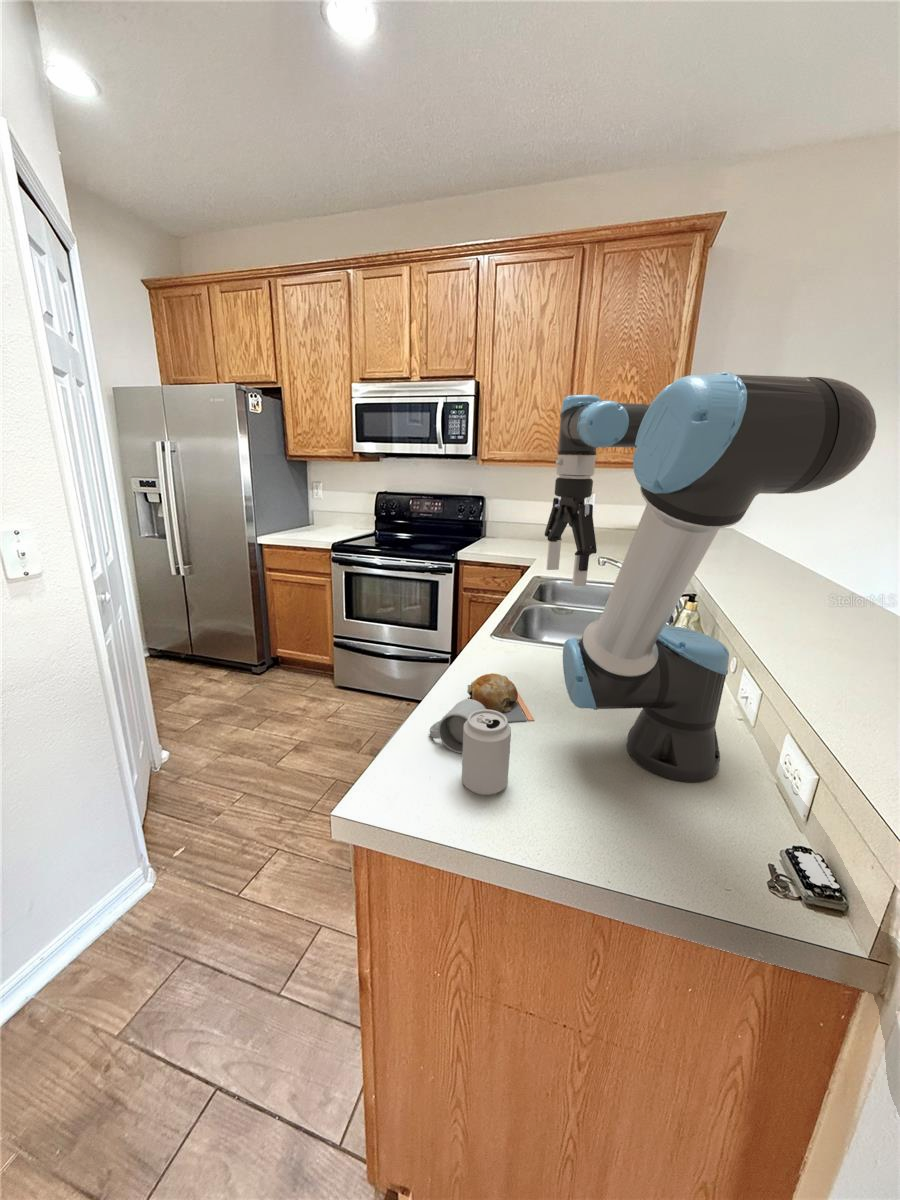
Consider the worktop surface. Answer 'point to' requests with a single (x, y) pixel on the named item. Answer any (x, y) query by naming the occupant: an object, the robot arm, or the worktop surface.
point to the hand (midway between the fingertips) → (564, 577)
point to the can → (486, 752)
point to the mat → (517, 712)
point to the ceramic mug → (455, 724)
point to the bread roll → (494, 692)
